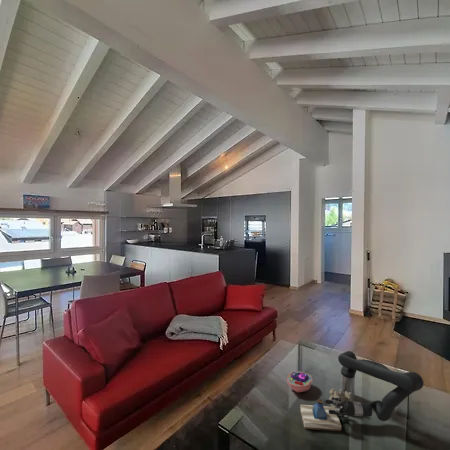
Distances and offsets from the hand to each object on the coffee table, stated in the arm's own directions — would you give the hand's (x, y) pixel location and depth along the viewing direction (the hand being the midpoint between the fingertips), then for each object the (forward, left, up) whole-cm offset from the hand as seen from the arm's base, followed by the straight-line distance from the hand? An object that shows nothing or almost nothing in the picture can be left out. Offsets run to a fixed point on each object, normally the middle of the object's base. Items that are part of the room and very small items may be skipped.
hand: (327, 406), depth 170 cm
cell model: (-29, -13, -10) cm, 33 cm away
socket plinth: (0, -5, -9) cm, 10 cm away
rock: (-15, +14, -10) cm, 23 cm away
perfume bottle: (0, -5, -9) cm, 10 cm away
